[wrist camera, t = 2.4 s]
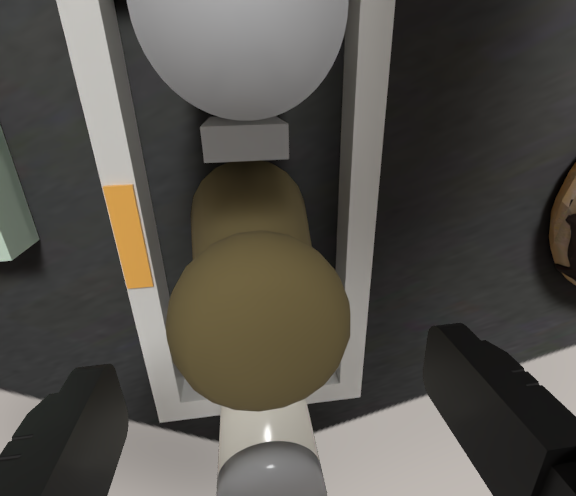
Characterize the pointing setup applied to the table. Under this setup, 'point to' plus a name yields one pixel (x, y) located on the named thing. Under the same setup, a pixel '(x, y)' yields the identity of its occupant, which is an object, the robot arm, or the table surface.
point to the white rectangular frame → (230, 148)
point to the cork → (255, 294)
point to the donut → (565, 228)
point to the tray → (13, 209)
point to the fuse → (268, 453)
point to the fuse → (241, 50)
